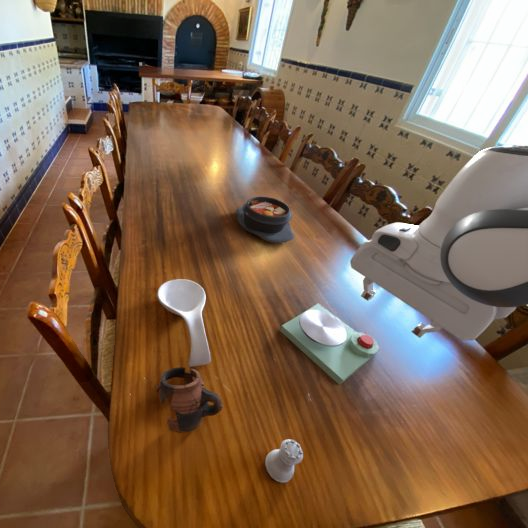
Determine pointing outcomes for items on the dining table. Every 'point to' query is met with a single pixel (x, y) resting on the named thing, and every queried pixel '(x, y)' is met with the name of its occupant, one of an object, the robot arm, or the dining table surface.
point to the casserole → (266, 219)
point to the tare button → (365, 341)
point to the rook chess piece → (284, 460)
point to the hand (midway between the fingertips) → (390, 314)
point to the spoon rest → (188, 314)
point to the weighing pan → (322, 328)
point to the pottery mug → (188, 399)
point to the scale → (331, 349)
